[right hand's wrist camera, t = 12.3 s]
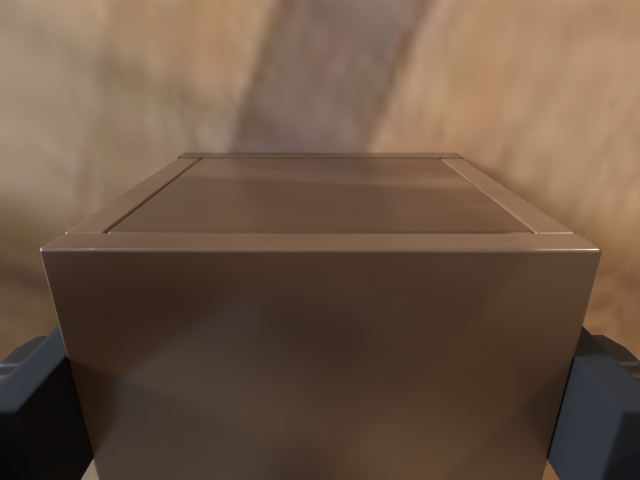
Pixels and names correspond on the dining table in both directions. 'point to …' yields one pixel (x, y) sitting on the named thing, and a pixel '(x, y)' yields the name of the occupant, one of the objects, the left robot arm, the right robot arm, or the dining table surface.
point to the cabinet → (320, 320)
